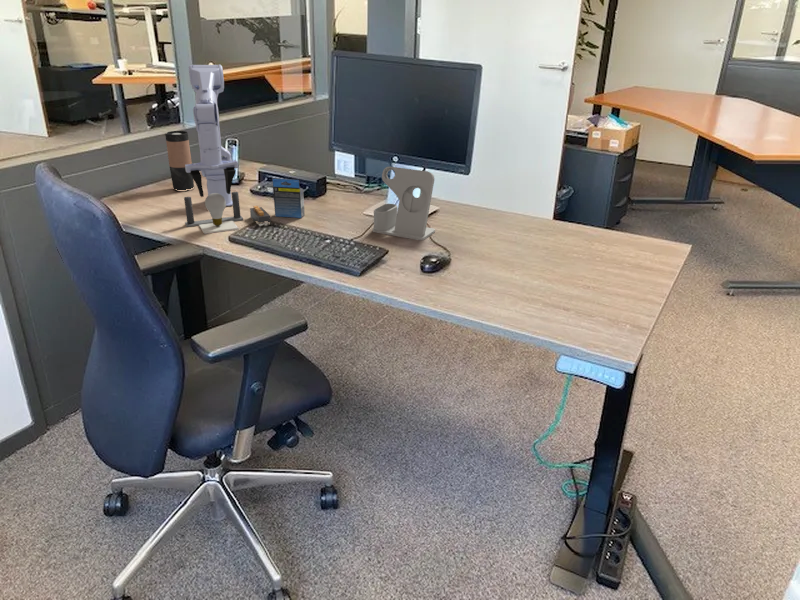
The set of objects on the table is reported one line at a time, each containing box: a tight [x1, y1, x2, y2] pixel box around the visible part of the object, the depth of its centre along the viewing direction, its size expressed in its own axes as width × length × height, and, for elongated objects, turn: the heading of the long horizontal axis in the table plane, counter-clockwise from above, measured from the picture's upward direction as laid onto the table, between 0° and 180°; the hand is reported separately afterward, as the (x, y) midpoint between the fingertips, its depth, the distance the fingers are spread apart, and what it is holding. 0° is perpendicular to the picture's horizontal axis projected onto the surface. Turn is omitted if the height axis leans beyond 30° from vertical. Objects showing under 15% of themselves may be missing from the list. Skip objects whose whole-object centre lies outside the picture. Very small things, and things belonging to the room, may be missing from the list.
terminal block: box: [249, 205, 272, 223], centre depth 192 cm, size 10×4×4 cm, turn 27°
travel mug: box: [164, 130, 195, 190], centre depth 221 cm, size 8×8×20 cm
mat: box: [199, 221, 239, 235], centre depth 187 cm, size 8×10×1 cm
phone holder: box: [372, 166, 436, 241], centre depth 183 cm, size 17×10×18 cm, turn 63°
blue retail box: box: [271, 177, 305, 219], centre depth 196 cm, size 9×4×12 cm, turn 80°
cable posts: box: [183, 191, 244, 228], centre depth 190 cm, size 3×17×8 cm, turn 117°
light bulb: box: [204, 193, 227, 226], centre depth 185 cm, size 6×6×10 cm
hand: (215, 194), depth 183 cm, fingers open, 7 cm apart
